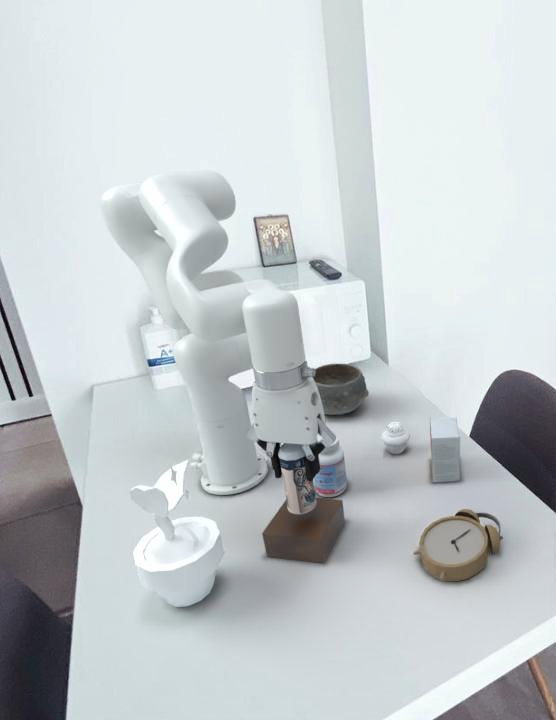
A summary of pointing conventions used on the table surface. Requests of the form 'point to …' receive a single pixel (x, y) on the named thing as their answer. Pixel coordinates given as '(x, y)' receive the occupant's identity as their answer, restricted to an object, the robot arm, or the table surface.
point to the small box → (445, 449)
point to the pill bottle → (331, 471)
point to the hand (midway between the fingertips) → (297, 473)
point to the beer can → (296, 479)
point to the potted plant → (176, 544)
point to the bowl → (340, 388)
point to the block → (304, 532)
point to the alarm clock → (458, 545)
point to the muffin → (395, 437)
